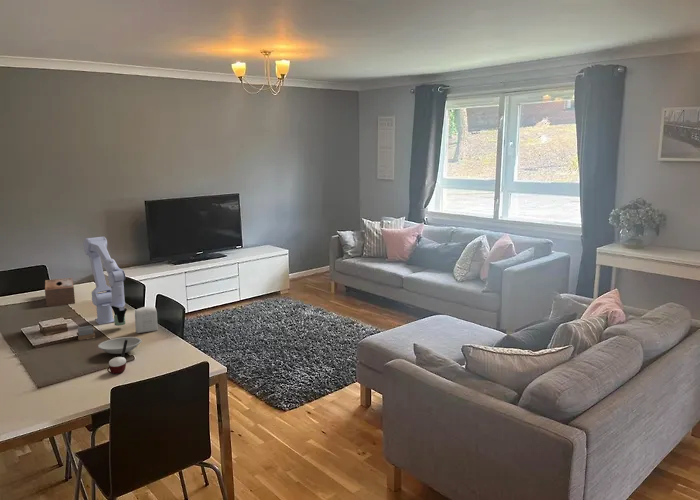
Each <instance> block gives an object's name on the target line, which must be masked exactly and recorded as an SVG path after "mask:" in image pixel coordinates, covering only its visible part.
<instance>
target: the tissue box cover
mask: <svg viewBox="0 0 700 500" xmlns="http://www.w3.org/2000/svg"><path fill="white" fill-rule="evenodd" d="M74 286H75V285H74V280H73V277H67V278H55V279H45V281H44V293H45V304H46V307H47V308H49V307H57V306H66V305H73V304H76V299H75V287H74Z"/></svg>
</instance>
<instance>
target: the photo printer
mask: <svg viewBox="0 0 700 500" xmlns="http://www.w3.org/2000/svg"><path fill="white" fill-rule="evenodd" d="M134 321H135V322H134V325H135V333H136V334H142V333H147V332H149V333H150V332H155V331H158V312H157V308H156V307H155V306H143V307H142V306H141V307H139V308H137V309H135V310H134Z"/></svg>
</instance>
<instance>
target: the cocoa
mask: <svg viewBox="0 0 700 500" xmlns="http://www.w3.org/2000/svg"><path fill="white" fill-rule="evenodd" d="M127 342H128V340H125V342H124V346H123V350H122V354H120V355H121V356H117V357H116V356H115V357H113V358H112V359H110V360H109V361H108V367H107V368H106V371H107V372H108V373H110V374H114V375H118V374H122V373H123V372H124V371H125V370H126V366H127V359H126V358H125V351H126V346H127Z"/></svg>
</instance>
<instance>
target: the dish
mask: <svg viewBox="0 0 700 500" xmlns="http://www.w3.org/2000/svg"><path fill="white" fill-rule="evenodd" d="M125 340H128V342H127V346H126V351H125V353H128V352H131V351H133V350H134V349H135V348H137V347H138V345H140V344H141V343H142V341H143V340H142V338H139V337H136V336H125V337H124V336H123V337H117V338H111V339H108V340H104V341H102V342H100V343H98V345H97V348H98V349H101V350H102V351H103V352H105V353H107V354H110V355H111V354H112V355H122V350H123V346H124V342H125Z"/></svg>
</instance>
